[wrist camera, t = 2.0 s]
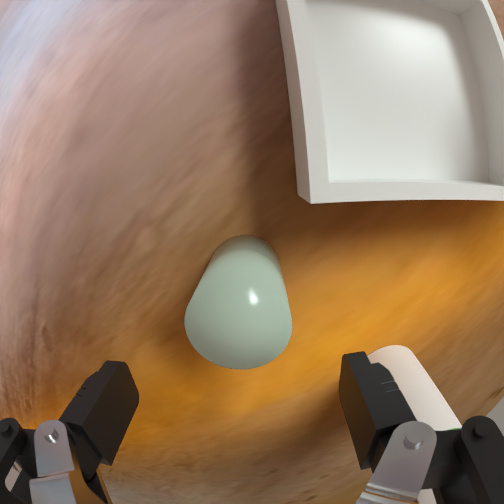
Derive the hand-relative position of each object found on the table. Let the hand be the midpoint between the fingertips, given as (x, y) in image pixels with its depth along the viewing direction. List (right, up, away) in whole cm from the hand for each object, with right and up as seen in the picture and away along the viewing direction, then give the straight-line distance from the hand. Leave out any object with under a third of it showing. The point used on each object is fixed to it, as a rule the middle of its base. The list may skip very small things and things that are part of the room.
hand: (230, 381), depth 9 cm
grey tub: (+12, +18, +6) cm, 22 cm away
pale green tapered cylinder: (0, +3, +11) cm, 12 cm away
